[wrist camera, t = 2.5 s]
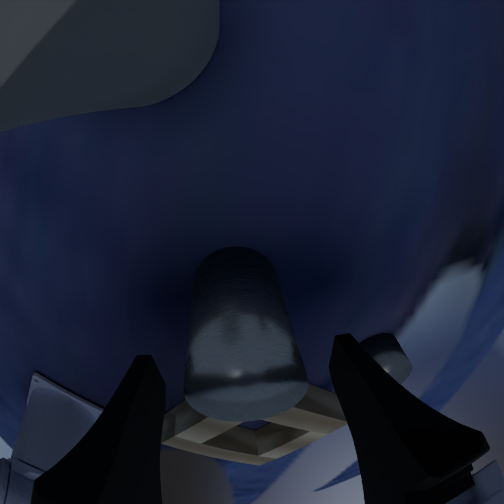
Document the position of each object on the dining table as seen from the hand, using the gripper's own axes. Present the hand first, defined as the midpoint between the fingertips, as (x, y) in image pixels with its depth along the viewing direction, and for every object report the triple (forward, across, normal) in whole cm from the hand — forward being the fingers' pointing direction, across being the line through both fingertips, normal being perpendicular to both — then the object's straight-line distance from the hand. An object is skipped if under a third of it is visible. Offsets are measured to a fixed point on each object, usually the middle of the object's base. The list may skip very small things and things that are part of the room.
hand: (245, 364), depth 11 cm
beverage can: (+6, +3, -13) cm, 14 cm away
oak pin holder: (+6, 0, +14) cm, 15 cm away
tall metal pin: (+6, 0, 0) cm, 6 cm away
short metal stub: (+6, -10, +8) cm, 14 cm away
